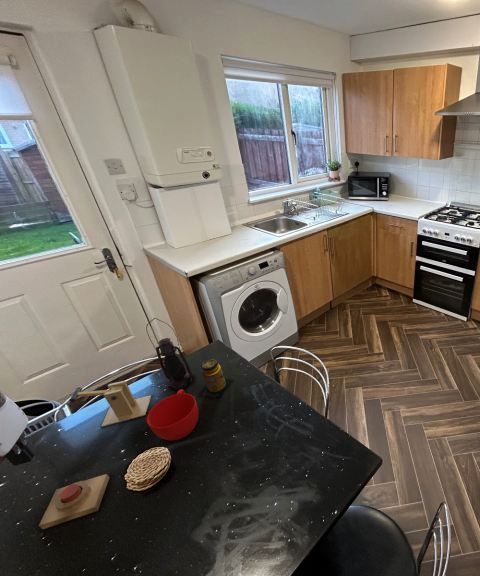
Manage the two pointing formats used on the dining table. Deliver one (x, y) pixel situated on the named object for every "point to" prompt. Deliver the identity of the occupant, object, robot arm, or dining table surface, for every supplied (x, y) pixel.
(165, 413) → the ceramic cup
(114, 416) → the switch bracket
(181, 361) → the lantern
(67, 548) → the dining table surface
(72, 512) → the button block
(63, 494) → the button
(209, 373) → the condiment
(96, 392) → the lever
